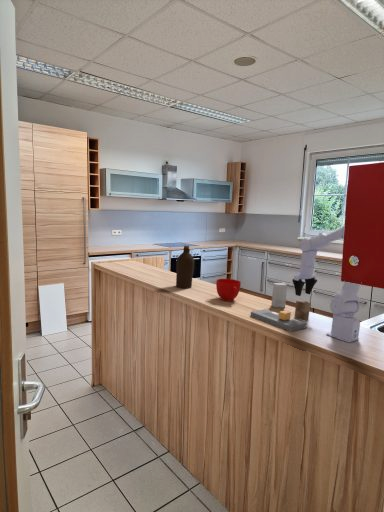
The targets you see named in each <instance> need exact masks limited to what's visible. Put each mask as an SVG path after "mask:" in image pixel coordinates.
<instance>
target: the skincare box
mask: <svg viewBox="0 0 384 512" xmlns="http://www.w3.org/2000/svg"><path fill="white" fill-rule="evenodd" d="M287 290H288V284H286V283H284V282H283V283H282V282H281V283H280V282H273V285H272V295H271V307H273V308H280V309H281V308H283V309H284V308H286V301H287Z"/></svg>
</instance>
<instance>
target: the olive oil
mask: <svg viewBox="0 0 384 512" xmlns="http://www.w3.org/2000/svg"><path fill="white" fill-rule="evenodd" d="M182 251H183V252H181V254H179V255H178V257H177V258H176V272H175V273H176V274H175V275H176V278H175V281H176V282H175V287H177V288H178V289H191V288H192V286H193V276H194V269H195V259H194V257H193V255H192V253H190V246H189V245H183V250H182Z"/></svg>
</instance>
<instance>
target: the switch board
mask: <svg viewBox="0 0 384 512" xmlns="http://www.w3.org/2000/svg"><path fill="white" fill-rule="evenodd" d="M250 317H251V318H254V319H257V320H260V321H263V322H265V323H268V324H271V325H272V326H276V327H278V328H281V329H284V330H286V331H288V332H294V331H299V330H302V329H306V328H307V322H305V321H304V322H303V321H302V320H299V319H297V318H293V317H290V319H288V320H282V319H279V312H275V311H272V310H269V309H265V308H264V309H257V310H254V311H250Z"/></svg>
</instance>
